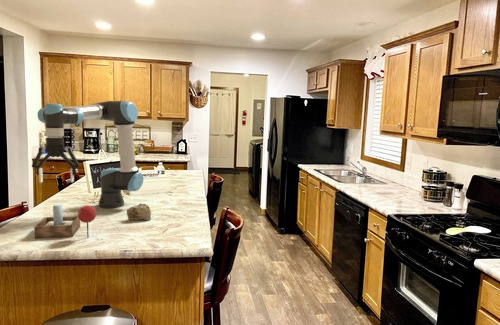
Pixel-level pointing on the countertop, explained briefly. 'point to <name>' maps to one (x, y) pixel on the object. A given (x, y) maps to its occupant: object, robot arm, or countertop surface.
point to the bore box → (57, 228)
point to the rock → (139, 212)
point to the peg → (58, 215)
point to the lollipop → (87, 215)
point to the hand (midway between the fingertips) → (56, 182)
